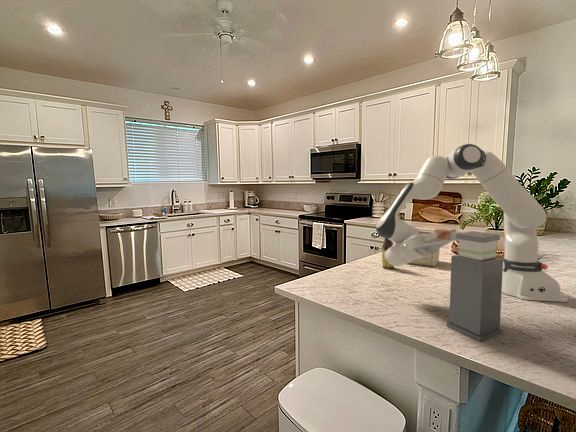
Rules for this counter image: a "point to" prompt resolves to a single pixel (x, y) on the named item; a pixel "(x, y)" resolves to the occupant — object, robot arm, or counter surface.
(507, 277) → the robot arm
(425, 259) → the storage basket
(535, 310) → the counter surface
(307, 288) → the counter surface
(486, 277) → the sleeve
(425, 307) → the counter surface
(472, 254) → the layered grey-topped block
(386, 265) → the sauce bottle
